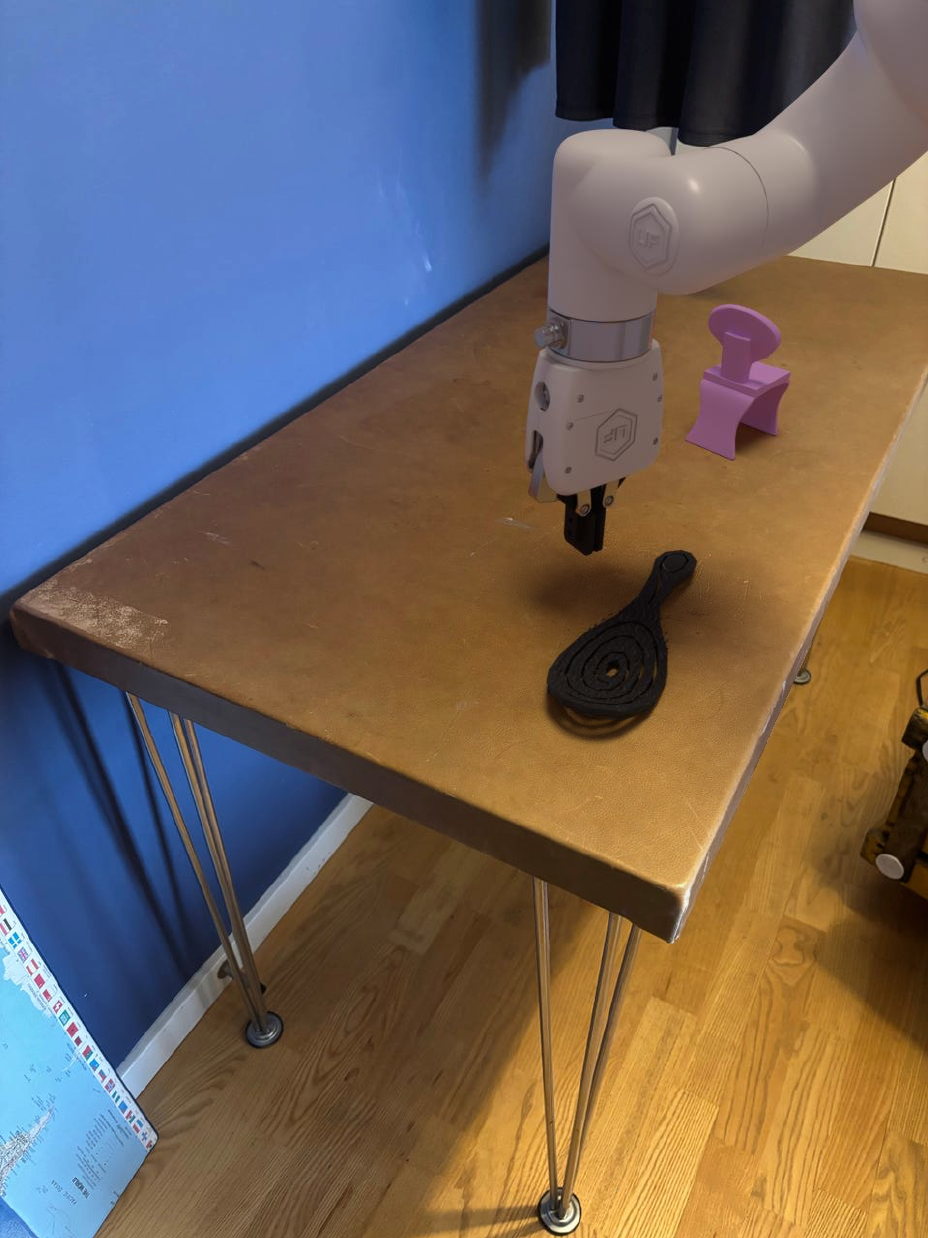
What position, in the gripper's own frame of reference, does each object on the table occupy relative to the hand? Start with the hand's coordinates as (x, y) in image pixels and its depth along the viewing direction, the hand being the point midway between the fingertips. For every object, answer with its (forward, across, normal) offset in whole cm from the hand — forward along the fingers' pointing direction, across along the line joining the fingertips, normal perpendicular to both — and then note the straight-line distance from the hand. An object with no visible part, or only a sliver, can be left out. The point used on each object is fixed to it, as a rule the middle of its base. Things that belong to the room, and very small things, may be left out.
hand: (583, 545), depth 76 cm
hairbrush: (+5, 0, -8) cm, 9 cm away
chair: (+5, +31, +13) cm, 34 cm away
